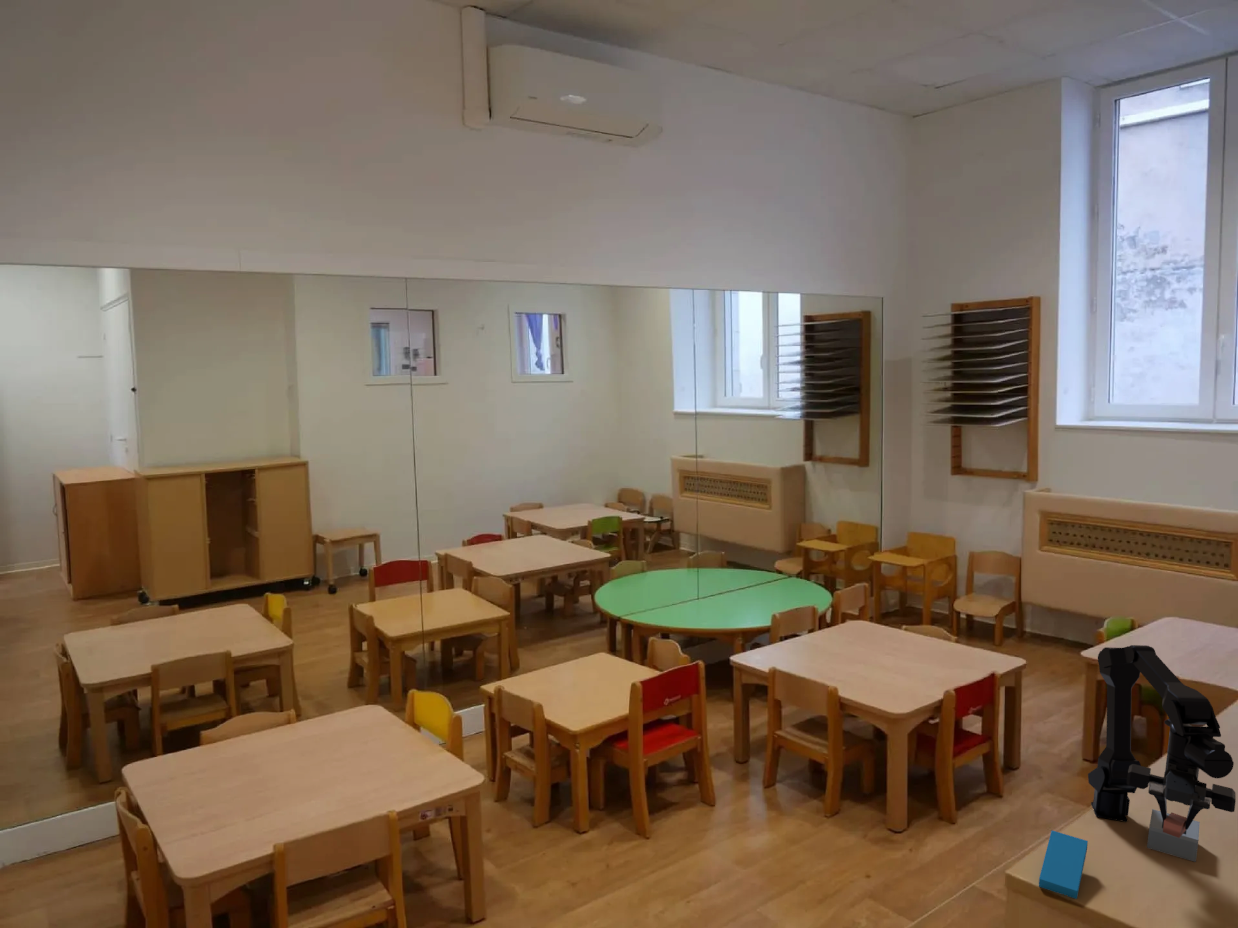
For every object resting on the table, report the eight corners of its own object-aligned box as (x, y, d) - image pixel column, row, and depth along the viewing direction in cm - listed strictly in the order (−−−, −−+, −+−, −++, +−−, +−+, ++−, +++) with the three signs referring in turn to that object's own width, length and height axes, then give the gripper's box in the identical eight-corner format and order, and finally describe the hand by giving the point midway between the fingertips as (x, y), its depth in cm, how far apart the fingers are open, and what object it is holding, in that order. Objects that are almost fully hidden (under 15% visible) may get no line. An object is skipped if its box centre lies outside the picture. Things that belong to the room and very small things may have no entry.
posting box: (1195, 861, 189) (1198, 839, 188) (1147, 847, 194) (1149, 826, 193) (1197, 842, 196) (1199, 821, 195) (1149, 829, 201) (1152, 808, 200)
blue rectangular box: (1075, 917, 177) (1088, 854, 190) (1077, 890, 174) (1090, 828, 188) (1037, 904, 180) (1053, 843, 194) (1039, 878, 178) (1054, 818, 191)
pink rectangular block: (1179, 837, 181) (1180, 826, 180) (1162, 831, 183) (1164, 820, 183) (1186, 829, 184) (1187, 817, 184) (1170, 823, 186) (1171, 812, 186)
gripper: (1127, 756, 180) (1120, 827, 182) (1239, 783, 170) (1230, 859, 172) (1132, 736, 189) (1125, 805, 191) (1238, 761, 179) (1229, 833, 181)
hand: (1175, 825), depth 183 cm, fingers closed on pink rectangular block, 3 cm apart
